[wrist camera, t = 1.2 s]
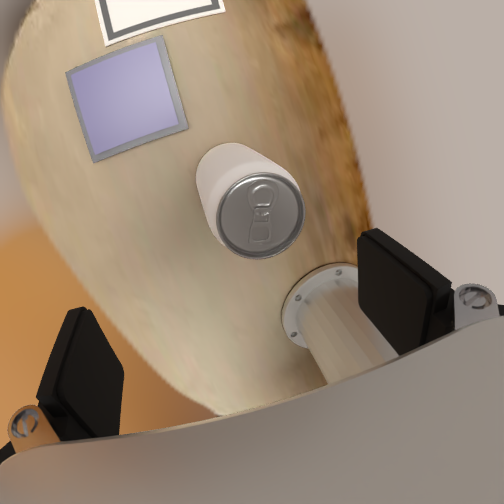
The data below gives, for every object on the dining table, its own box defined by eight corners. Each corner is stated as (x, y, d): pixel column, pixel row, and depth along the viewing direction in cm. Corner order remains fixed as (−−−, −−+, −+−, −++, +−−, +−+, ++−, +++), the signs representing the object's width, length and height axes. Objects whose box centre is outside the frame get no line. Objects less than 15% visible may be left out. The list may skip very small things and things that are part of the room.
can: (264, 142, 29) (317, 166, 19) (260, 206, 32) (305, 262, 22) (195, 142, 28) (209, 165, 17) (195, 209, 31) (209, 269, 20)
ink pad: (162, 37, 23) (162, 32, 21) (188, 127, 27) (189, 129, 25) (69, 73, 22) (61, 71, 20) (96, 161, 26) (90, 165, 24)
